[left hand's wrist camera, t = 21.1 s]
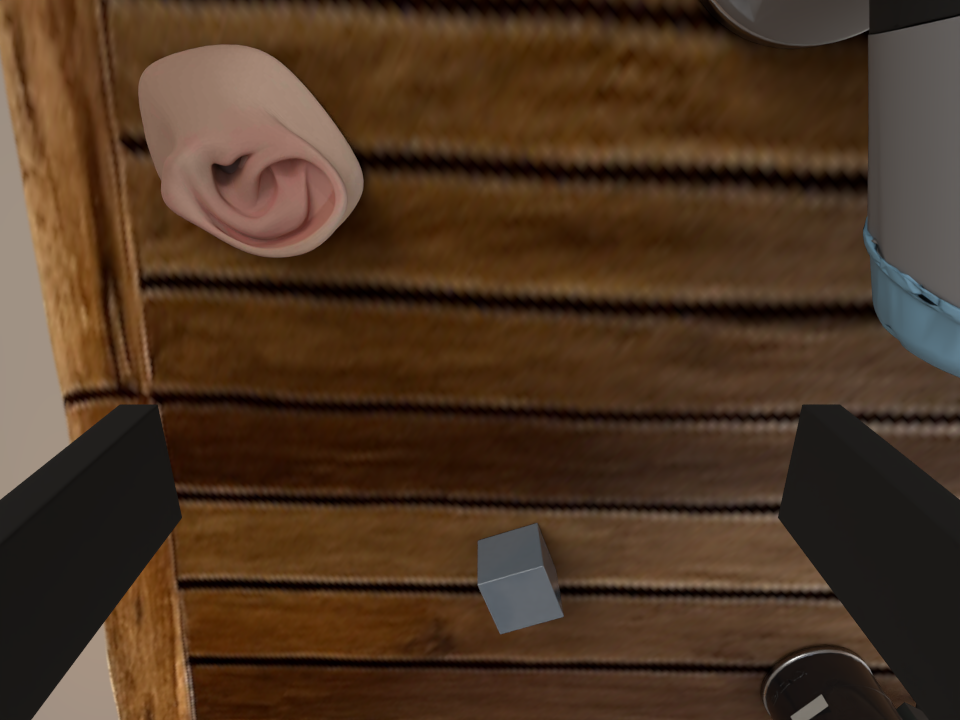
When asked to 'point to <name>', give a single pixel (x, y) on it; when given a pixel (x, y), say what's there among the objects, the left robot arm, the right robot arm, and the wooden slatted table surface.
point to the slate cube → (518, 579)
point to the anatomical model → (247, 150)
